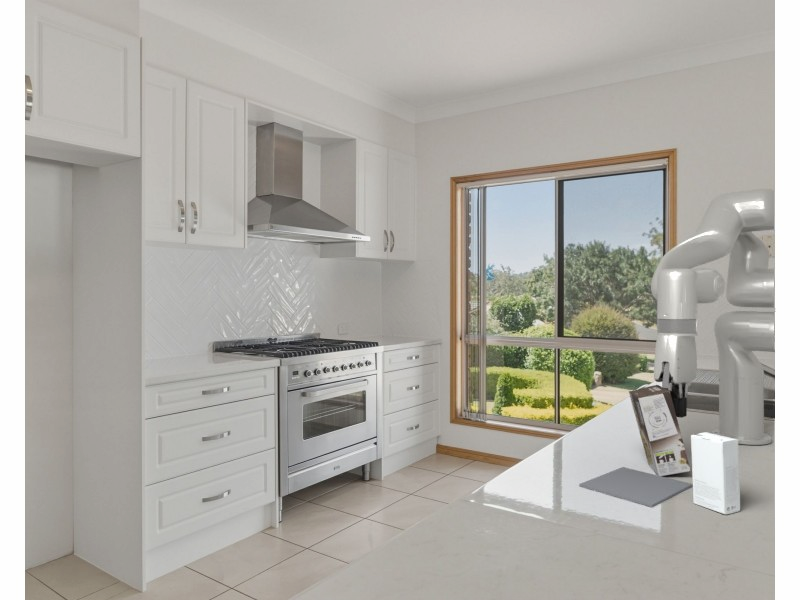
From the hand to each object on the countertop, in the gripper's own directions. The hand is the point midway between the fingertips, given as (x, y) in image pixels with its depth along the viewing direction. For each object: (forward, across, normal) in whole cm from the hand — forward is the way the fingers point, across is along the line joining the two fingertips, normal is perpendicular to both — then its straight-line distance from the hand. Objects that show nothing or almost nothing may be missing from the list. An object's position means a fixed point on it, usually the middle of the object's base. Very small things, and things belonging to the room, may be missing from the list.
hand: (677, 415), depth 117 cm
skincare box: (+11, +17, +14) cm, 25 cm away
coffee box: (+10, +3, 0) cm, 11 cm away
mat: (+11, +17, 0) cm, 20 cm away
